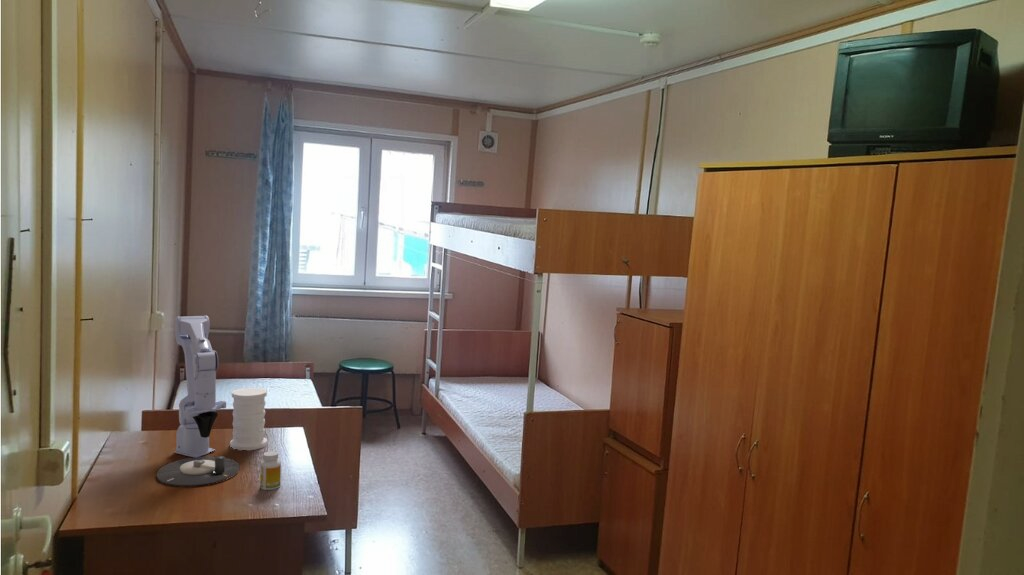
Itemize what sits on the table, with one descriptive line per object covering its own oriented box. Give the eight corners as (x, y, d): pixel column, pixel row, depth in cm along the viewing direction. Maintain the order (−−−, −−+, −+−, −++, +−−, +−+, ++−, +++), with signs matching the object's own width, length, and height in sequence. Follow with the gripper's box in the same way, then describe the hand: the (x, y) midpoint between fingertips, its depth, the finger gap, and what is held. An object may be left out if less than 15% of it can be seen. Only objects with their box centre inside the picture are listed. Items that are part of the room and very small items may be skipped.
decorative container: (251, 452, 225) (252, 397, 223) (222, 447, 229) (222, 393, 227) (274, 442, 236) (275, 390, 234) (246, 437, 240) (246, 385, 238)
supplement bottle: (284, 485, 200) (285, 452, 199) (272, 491, 195) (272, 457, 194) (268, 482, 202) (269, 449, 201) (256, 488, 197) (256, 454, 196)
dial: (172, 471, 203) (172, 456, 202) (198, 461, 212) (198, 446, 212) (210, 479, 198) (210, 463, 198) (235, 468, 208) (235, 453, 207)
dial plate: (139, 477, 200) (139, 473, 200) (201, 455, 220) (201, 451, 220) (196, 492, 192) (196, 488, 192) (255, 467, 212) (255, 464, 212)
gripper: (195, 399, 200) (195, 445, 201) (234, 389, 213) (233, 432, 215) (177, 395, 203) (177, 441, 204) (216, 385, 216) (216, 428, 217)
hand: (204, 436), depth 210 cm, fingers closed
